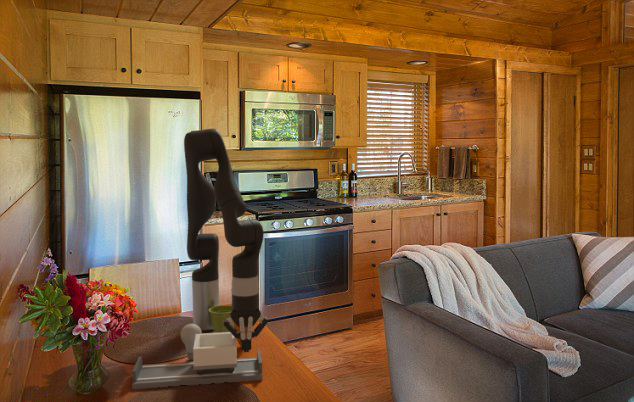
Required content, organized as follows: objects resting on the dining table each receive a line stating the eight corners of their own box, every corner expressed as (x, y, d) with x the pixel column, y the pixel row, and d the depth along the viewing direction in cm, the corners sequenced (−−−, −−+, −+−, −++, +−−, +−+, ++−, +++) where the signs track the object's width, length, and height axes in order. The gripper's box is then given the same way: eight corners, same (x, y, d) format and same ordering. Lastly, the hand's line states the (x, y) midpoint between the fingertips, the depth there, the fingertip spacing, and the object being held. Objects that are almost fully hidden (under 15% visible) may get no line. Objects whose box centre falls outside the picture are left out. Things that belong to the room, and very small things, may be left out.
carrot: (241, 350, 160) (241, 304, 159) (230, 347, 163) (229, 301, 162) (253, 346, 164) (252, 300, 163) (241, 342, 167) (241, 297, 166)
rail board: (140, 370, 146) (139, 354, 146) (259, 362, 152) (259, 347, 152) (132, 389, 135) (131, 373, 134) (262, 380, 140) (262, 364, 140)
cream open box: (196, 360, 149) (196, 333, 148) (236, 357, 150) (236, 331, 150) (193, 377, 137) (193, 349, 137) (237, 374, 139) (236, 346, 138)
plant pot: (206, 331, 178) (206, 306, 177) (233, 327, 182) (232, 303, 181) (212, 340, 170) (212, 314, 169) (240, 335, 173) (240, 310, 173)
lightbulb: (204, 356, 156) (204, 321, 155) (198, 364, 150) (197, 328, 149) (185, 355, 157) (184, 320, 156) (178, 363, 151) (177, 327, 150)
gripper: (268, 286, 148) (268, 344, 150) (221, 288, 146) (222, 347, 148) (270, 293, 141) (270, 354, 143) (221, 296, 138) (222, 358, 140)
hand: (246, 351), depth 145 cm, fingers closed
